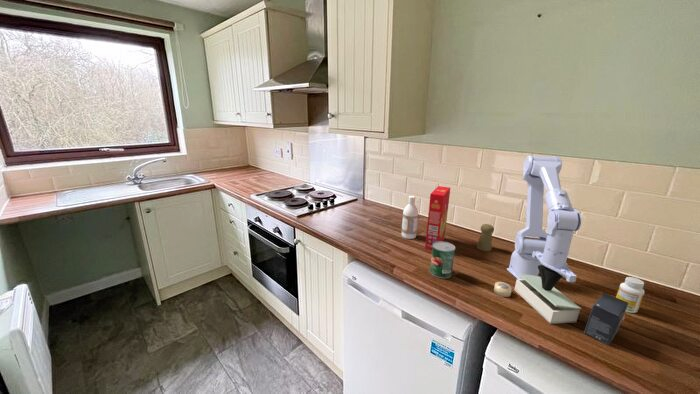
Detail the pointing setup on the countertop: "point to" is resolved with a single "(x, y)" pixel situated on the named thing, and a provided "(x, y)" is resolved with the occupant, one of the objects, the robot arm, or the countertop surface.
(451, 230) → the countertop surface
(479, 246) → the olive pepper mill
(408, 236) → the bath foam
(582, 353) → the countertop surface
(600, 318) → the box
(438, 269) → the canned tomato
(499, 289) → the cream domed disc
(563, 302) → the lid
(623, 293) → the supplement bottle
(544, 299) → the keepsake box
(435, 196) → the food packaging
